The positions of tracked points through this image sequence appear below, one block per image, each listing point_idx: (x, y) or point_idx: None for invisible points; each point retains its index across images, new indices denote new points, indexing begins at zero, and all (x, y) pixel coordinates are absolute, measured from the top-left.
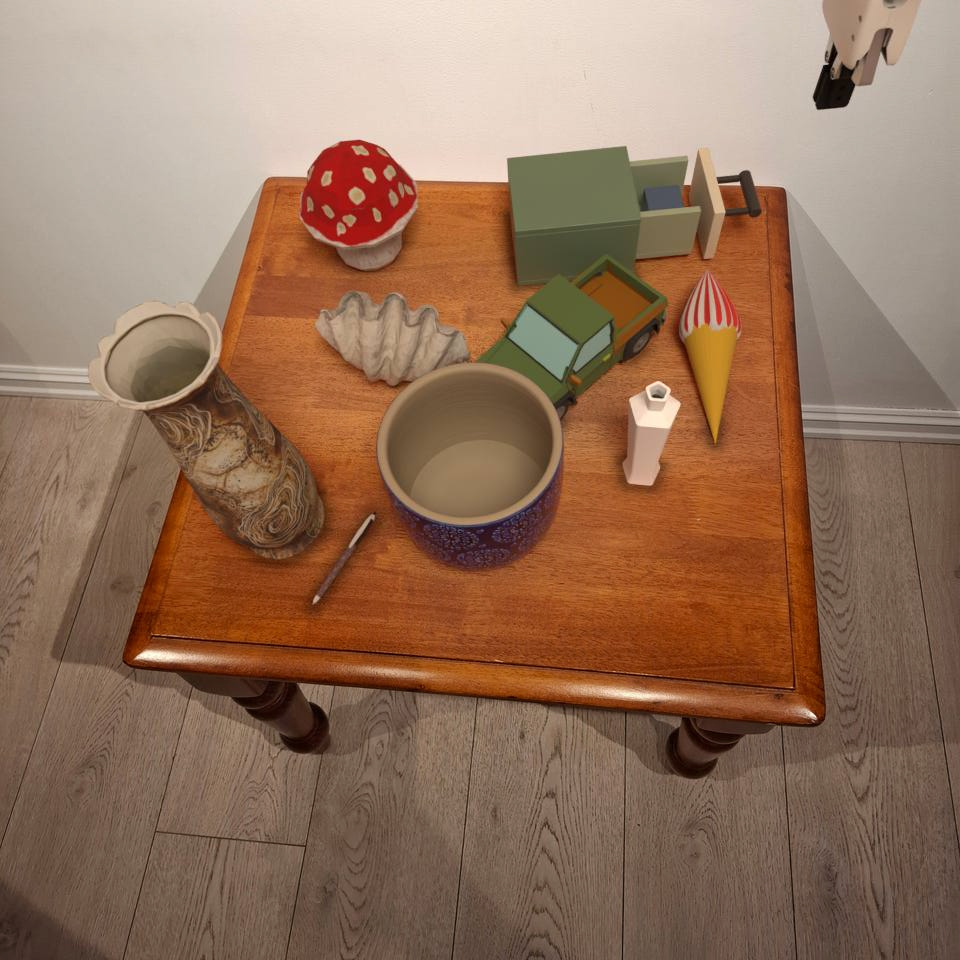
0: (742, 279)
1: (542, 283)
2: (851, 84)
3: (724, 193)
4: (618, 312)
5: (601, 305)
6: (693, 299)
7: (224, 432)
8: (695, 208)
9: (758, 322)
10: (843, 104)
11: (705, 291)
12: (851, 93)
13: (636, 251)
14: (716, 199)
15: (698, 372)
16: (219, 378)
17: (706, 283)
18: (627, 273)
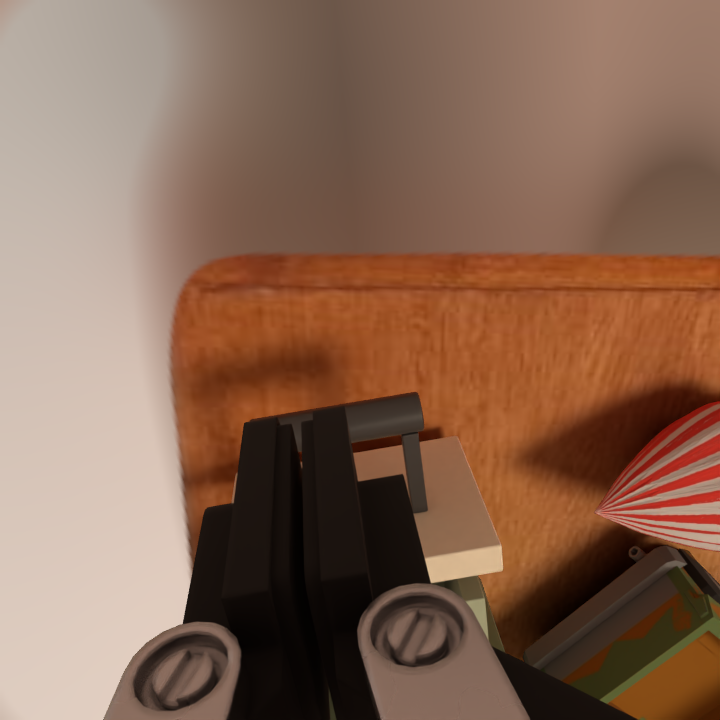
0: (508, 355)
1: None
2: (427, 573)
3: (200, 395)
4: (680, 663)
5: (654, 691)
6: (697, 545)
7: None
8: (474, 611)
9: (649, 321)
10: (349, 435)
11: (695, 531)
12: (350, 457)
13: (500, 639)
14: (448, 569)
15: None
16: None
17: (666, 528)
18: (623, 691)
